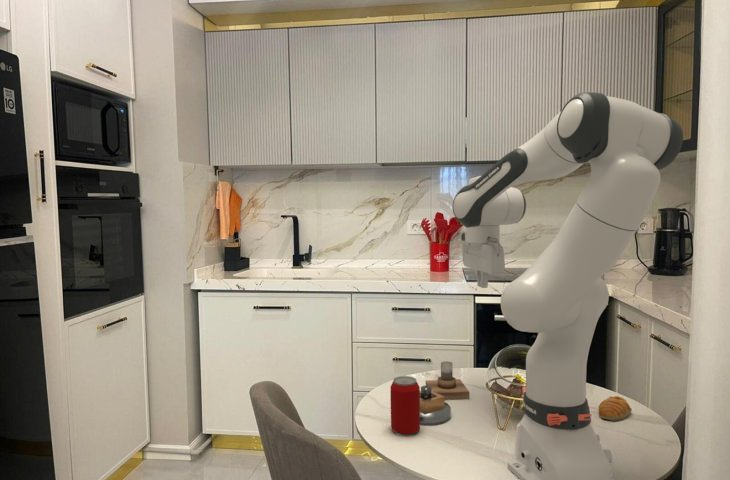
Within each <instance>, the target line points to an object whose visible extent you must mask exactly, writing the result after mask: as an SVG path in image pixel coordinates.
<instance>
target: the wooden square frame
mask: <svg viewBox="0 0 730 480" xmlns="http://www.w3.org/2000/svg"><path fill="white" fill-rule="evenodd" d="M420 394H421V390H420ZM431 394H432V395H434V396H435V397H433V398H430V399H427V400H424V399H422V398H420V413H422V414H424V415H426V414H429V413H432V412H435V411H438V410H441V409H444V408H445V402H446V400H445V397H444V396H442V395H440V394H437V393H435V392H433V391H431Z"/></svg>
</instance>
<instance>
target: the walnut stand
mask: <svg viewBox="0 0 730 480" xmlns="http://www.w3.org/2000/svg"><path fill="white" fill-rule="evenodd" d="M453 371H454V370H453V362H452V361H446V360H445V361H441V362H440V376H438V378H437V379H431V380H430V379H428V380H425V386H430V387H431V391H433V392H435V393H437V394H440V395H442V396H444V397H445V401H452V400H453V401H455V400H470V391H469V389H468V388H467V387H466V385H465V384H464V383H463V382H462V380H461V379H459V378H457V379H456V378H455V377H454V376H453V375H454V374H453Z"/></svg>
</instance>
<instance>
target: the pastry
mask: <svg viewBox="0 0 730 480" xmlns="http://www.w3.org/2000/svg"><path fill="white" fill-rule="evenodd" d="M632 411H633V410H632V408H631V406H630V404H629V402H628V401H627V400H626V399H625V398H623V397H621V396H619V395H615V396H609V397H607V398H606V399H604V400H602V402H600V403H599V405H598V417H600V419H606V420H609V421H612V422H616V421H620V420H624V419H625V418H627V417H629V415H630V414H631V412H632Z"/></svg>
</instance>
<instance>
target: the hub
mask: <svg viewBox="0 0 730 480" xmlns="http://www.w3.org/2000/svg"><path fill="white" fill-rule="evenodd" d="M420 391H421V394H420V398H422V399H424V400H427V399H430V398H433V397H435V396H434V395H432V394H431V387H430V386H426V385H422V386H420ZM451 407H452V406H450V404H448V402H446V401H445V408H444V409H441V410H438V411H435V412H432V413H429V414H426V415H424V414H422V413H420V426H438V425H442V424H445V423H447V422H448V421H450V420H451V418H452V417H451V415H452V414H451V413H452V410H451Z"/></svg>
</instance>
